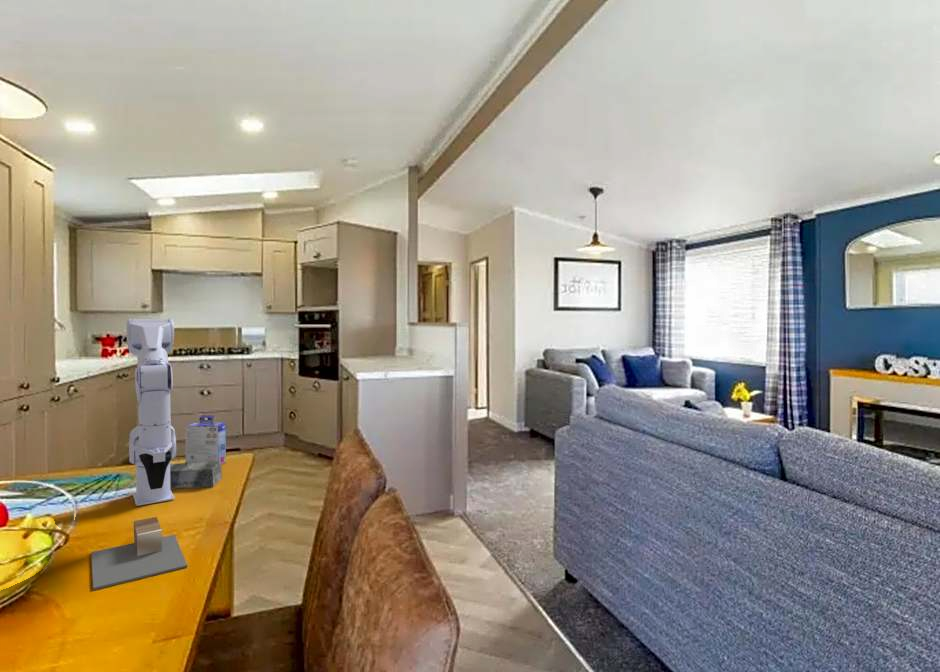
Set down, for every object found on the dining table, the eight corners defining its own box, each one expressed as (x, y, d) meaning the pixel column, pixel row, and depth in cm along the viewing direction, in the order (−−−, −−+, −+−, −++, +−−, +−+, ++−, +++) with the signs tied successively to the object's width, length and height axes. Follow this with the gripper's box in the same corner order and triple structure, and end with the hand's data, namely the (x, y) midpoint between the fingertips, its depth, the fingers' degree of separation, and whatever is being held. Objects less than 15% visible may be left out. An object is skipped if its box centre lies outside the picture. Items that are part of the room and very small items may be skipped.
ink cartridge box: (227, 461, 163) (226, 414, 163) (219, 467, 158) (218, 418, 157) (194, 461, 163) (193, 414, 162) (185, 467, 158) (184, 418, 157)
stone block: (168, 479, 147) (168, 460, 147) (224, 478, 149) (224, 459, 149) (154, 490, 138) (153, 470, 138) (213, 488, 140) (213, 468, 140)
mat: (91, 554, 102) (91, 551, 102) (174, 536, 111) (174, 534, 111) (93, 590, 89) (93, 588, 89) (187, 567, 98) (187, 565, 98)
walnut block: (133, 521, 107) (137, 535, 101) (156, 516, 109) (161, 530, 103) (134, 540, 107) (137, 556, 101) (157, 536, 110) (162, 550, 103)
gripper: (129, 418, 114) (130, 481, 115) (134, 432, 102) (136, 502, 103) (167, 415, 118) (168, 475, 119) (176, 428, 106) (177, 495, 107)
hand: (156, 487), depth 111 cm, fingers closed
